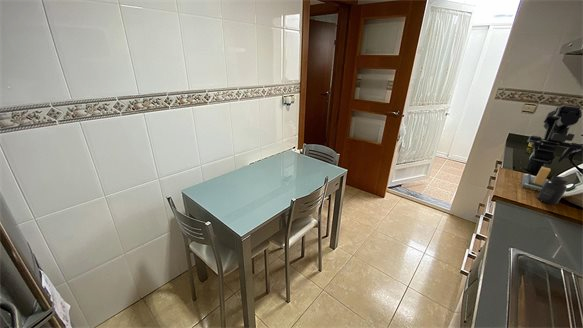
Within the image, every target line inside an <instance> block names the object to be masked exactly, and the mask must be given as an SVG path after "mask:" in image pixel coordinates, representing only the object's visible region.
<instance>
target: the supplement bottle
mask: <svg viewBox="0 0 583 328" xmlns="http://www.w3.org/2000/svg"><path fill="white" fill-rule="evenodd" d="M568 182H569V180H568V178H565V177H563V176H559V175H552V177H551V178H550V180H549V181H547V182H546V183H545V184H544V186H543V188H542V189H541V191H540V192H539V193H538V195H537V197H538V198H539V199H540V200H542V201H544V202H546V203H545V204H547V203H549V204H548V205H552V204H555V205H557V204H559V202H560V200H561V198H562V197H563V196H564V194H565V192H566V191H567V189H568V187H567V183H568ZM538 198H537V199H538ZM539 199H538V200H539ZM540 200H539V201H540ZM542 201H541V202H542ZM544 202H543V203H544Z"/></svg>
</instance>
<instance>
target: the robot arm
mask: <svg viewBox="0 0 583 328" xmlns="http://www.w3.org/2000/svg"><path fill="white" fill-rule="evenodd" d="M582 116H583V113H582V109H581V107H580V106H572V105H565V104H563V105H561V106H559V107H556V108H555V109H554V110H553V111H550V112H548V113H547V115H546V116H545V118H544V120H543V122H542V123H543V128H544V129H545V133H544V136H543V137H542V136H538V135H531V136H529V137H528V140H527V143H529V145H532V151H533V152H532V153H530V156H529V158H528V159H529V161H530V162H528V164H527V166H525V167H523V169H525V170H527V171H529V172H531V173H532V174H538V172H539V171H540V169H541V167H546V166H547V165H551V164H552V163H553V162H554V161H555V160H556V158H557V157H556V154H555V152H556V147H562V148H566V149H564V151H563V152H562V154H561V156H560V157H559V159H558V163H561V162H562V160H564V159H565V158H566V157H567V156H568V155H570V154H572V153H578V152H580V151H582V149H583V144H582V143H575V142H572V141H573V139H574V138H575V133H569V130H570V128H571V127H572V126H574V125H576V124H577V123H578V122H579V119H581V118H582ZM542 138H543V139H542ZM567 141H568V142H570V143H566V142H567ZM555 146H556V147H555Z"/></svg>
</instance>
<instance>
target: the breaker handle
mask: <svg viewBox="0 0 583 328" xmlns="http://www.w3.org/2000/svg"><path fill="white" fill-rule="evenodd" d="M550 172H551V168H550V167H546V166H545V167H541V169H540V171H539V172H538V173H536V175H535V176H536V178H535V180H534V181H533V180H532V181H531V185H534V186H538V187H542V188H543V186H544V184H543V182H544V181H545V179H547V178H548V176H549V174H550Z"/></svg>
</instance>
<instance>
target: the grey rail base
mask: <svg viewBox="0 0 583 328" xmlns="http://www.w3.org/2000/svg"><path fill="white" fill-rule="evenodd" d="M536 176H537V175H532V174H531V173H523V174H522V175H521V179H522V180H521V187H522V186H523V187H522V188H525V187H527V188H526V189H528V188H532V189H536V190H539V191H541V189H542V187H538V186H534V185H531V181H532V180H533V181H534V180H535V178H536ZM547 181H550V180H549V179H547V178H546V179H545V181H544V182H543V184H545V183H546V182H547ZM532 189H531V190H532ZM539 191H538V192H539Z"/></svg>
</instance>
